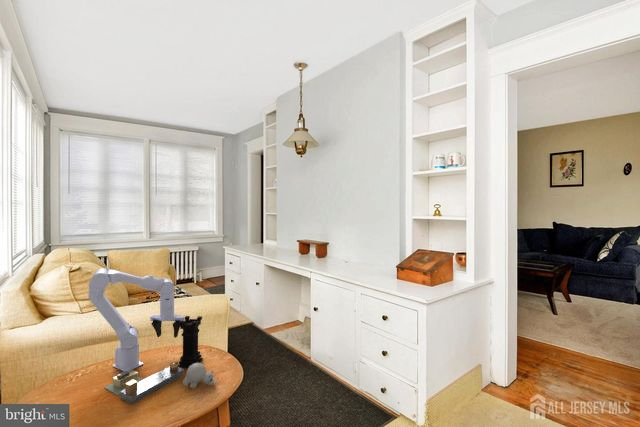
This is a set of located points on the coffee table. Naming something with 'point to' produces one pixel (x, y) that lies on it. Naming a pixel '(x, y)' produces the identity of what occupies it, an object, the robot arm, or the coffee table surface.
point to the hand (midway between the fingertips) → (167, 336)
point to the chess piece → (190, 342)
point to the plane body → (150, 383)
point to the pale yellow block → (124, 378)
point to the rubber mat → (117, 391)
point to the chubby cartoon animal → (198, 375)
